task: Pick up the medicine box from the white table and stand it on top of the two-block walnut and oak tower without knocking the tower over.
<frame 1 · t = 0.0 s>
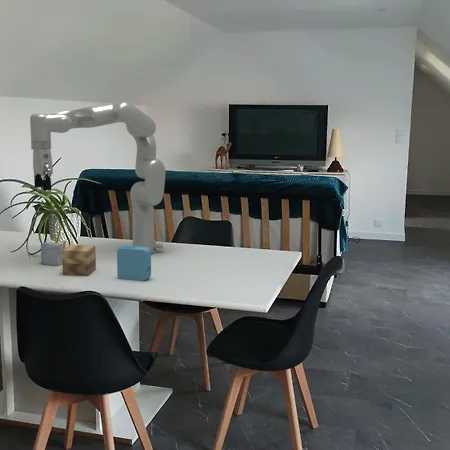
hand: (42, 188, 238), 31 cm above the table, tool pointing down, fingers open, 9 cm apart
upper block: (79, 260, 231), point 5 cm above the table, touching lower block
data package: (134, 278, 225), on the table
lower block: (79, 272, 232), on the table, touching upper block
medicine box: (52, 264, 244), on the table
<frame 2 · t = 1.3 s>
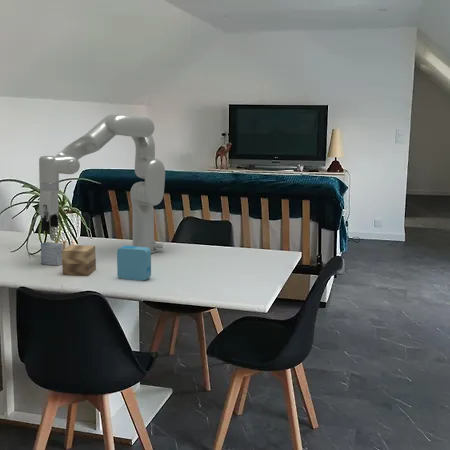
hand: (50, 228, 241), 15 cm above the table, tool pointing down, fingers open, 9 cm apart
nothing on the table moved.
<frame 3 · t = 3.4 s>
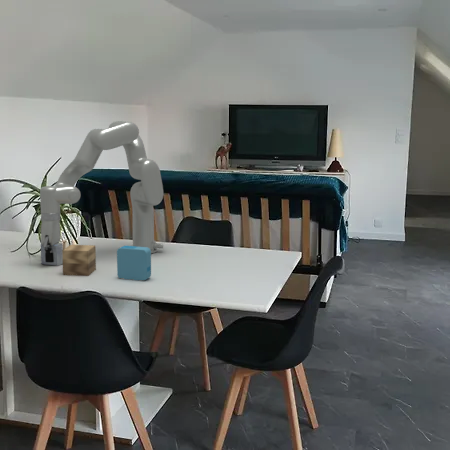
hand: (52, 259, 244), 2 cm above the table, tool pointing down, fingers closed on medicine box, 5 cm apart
upper block: (79, 260, 232), point 5 cm above the table
lower block: (79, 272, 232), on the table
medicine box: (52, 264, 244), on the table, touching gripper
everything else where it was.
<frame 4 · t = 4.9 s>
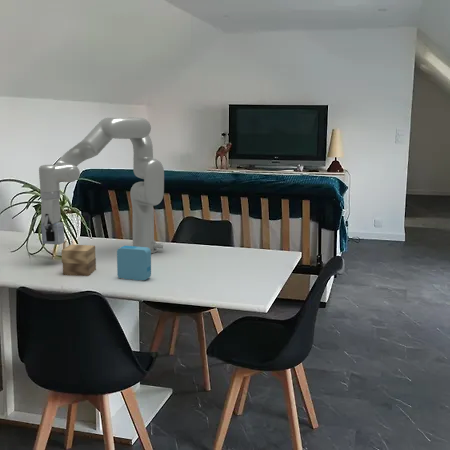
hand: (53, 239, 243), 10 cm above the table, tool pointing down, fingers closed on medicine box, 5 cm apart
medicine box: (53, 243, 243), point 8 cm above the table, touching gripper
everything else where it was.
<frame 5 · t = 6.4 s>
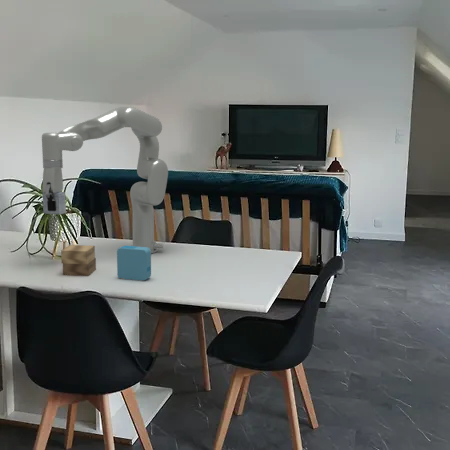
hand: (54, 209, 238), 23 cm above the table, tool pointing down, fingers closed on medicine box, 5 cm apart
upper block: (78, 260, 231), point 5 cm above the table, touching lower block
lower block: (79, 272, 232), on the table, touching upper block
medicine box: (54, 213, 239), point 21 cm above the table, touching gripper
everything else where it was.
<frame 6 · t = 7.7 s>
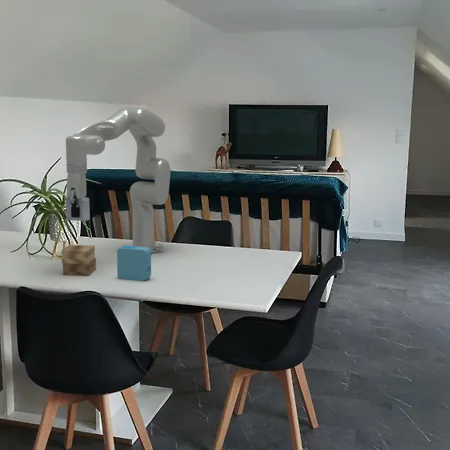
hand: (78, 215, 228), 22 cm above the table, tool pointing down, fingers closed on medicine box, 5 cm apart
upper block: (78, 260, 231), point 5 cm above the table
lower block: (80, 272, 232), on the table
medicine box: (78, 220, 229), point 20 cm above the table, touching gripper
everything else where it was.
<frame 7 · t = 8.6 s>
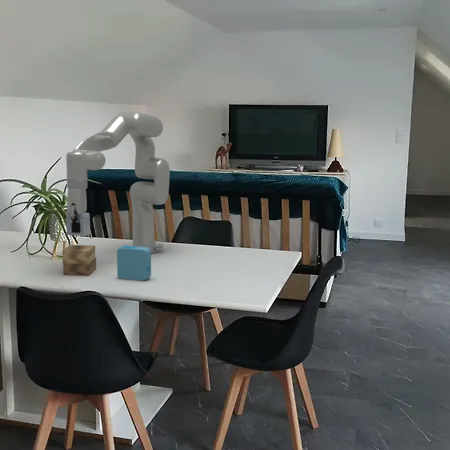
hand: (78, 230, 229), 17 cm above the table, tool pointing down, fingers closed on medicine box, 5 cm apart
upper block: (79, 260, 231), point 5 cm above the table, touching lower block
lower block: (80, 272, 232), on the table, touching upper block
medicine box: (78, 235, 230), point 15 cm above the table, touching gripper
everything else where it was.
when the fingers open (13 cm above the table, at t = 9.7 s): medicine box drops 1 cm, resting on upper block.
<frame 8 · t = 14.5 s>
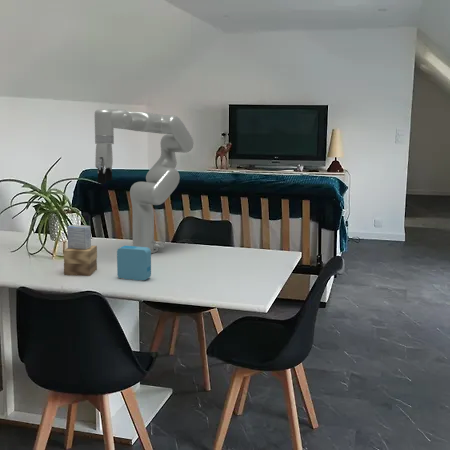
hand: (105, 181, 247), 33 cm above the table, tool pointing down, fingers open, 9 cm apart
upper block: (80, 260, 232), point 5 cm above the table, touching lower block, medicine box
medicine box: (79, 248, 231), point 9 cm above the table, touching upper block
everything else where it was.
at the end: medicine box 0.2 cm off-centre on the lower block, point 9.8 cm above the lower block's base; medicine box tilted 0°; upper block moved 0.8 cm from its start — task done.
